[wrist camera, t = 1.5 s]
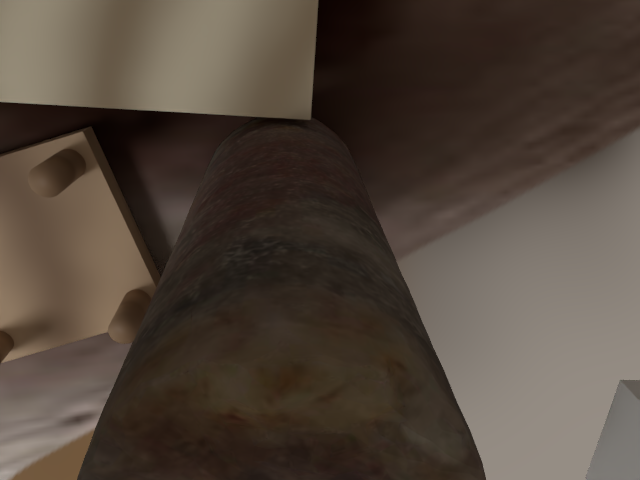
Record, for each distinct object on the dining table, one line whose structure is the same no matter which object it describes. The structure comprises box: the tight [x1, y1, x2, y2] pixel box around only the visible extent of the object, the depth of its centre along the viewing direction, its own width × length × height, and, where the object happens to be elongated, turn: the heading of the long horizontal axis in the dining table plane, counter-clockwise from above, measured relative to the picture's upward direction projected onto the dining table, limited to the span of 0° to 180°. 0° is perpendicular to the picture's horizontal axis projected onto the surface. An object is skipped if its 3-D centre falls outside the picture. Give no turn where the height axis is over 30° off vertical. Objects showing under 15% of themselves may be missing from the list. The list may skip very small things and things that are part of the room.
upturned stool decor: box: [0, 127, 161, 364], centre depth 25 cm, size 10×10×4 cm
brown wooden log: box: [77, 117, 486, 480], centre depth 18 cm, size 8×7×20 cm
